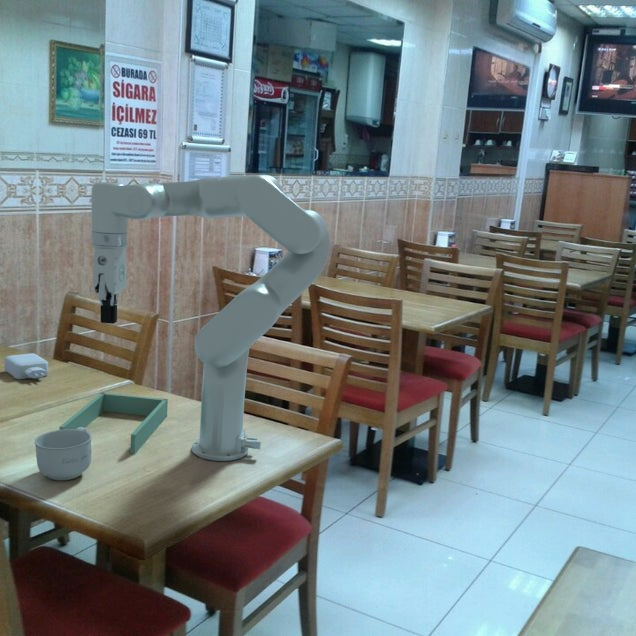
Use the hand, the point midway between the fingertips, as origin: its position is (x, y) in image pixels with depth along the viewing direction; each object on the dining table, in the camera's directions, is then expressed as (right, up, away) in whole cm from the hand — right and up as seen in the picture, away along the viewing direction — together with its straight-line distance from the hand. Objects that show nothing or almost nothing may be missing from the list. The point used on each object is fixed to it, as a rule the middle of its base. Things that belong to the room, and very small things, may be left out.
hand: (108, 322), depth 166 cm
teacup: (-4, -31, -14) cm, 34 cm away
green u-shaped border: (-1, -26, +11) cm, 28 cm away
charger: (-35, -16, +46) cm, 60 cm away
